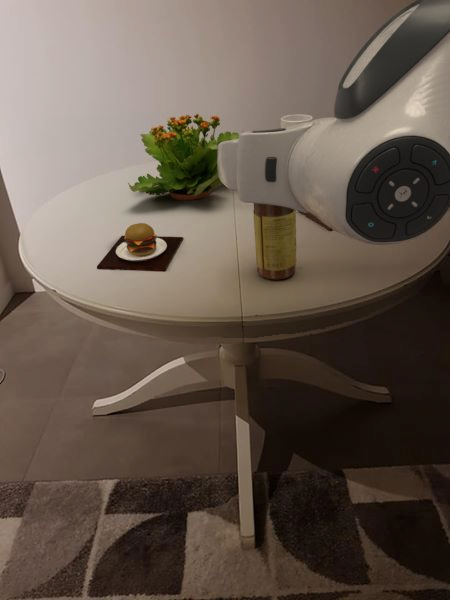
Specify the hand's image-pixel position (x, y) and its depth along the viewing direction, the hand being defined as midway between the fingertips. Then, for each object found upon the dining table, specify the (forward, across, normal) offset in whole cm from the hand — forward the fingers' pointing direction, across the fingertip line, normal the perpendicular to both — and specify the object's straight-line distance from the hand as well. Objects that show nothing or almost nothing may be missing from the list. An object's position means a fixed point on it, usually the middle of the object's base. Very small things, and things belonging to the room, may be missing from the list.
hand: (296, 155), depth 57 cm
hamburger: (+22, +22, +18) cm, 36 cm away
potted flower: (+51, +12, +12) cm, 53 cm away
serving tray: (+32, -18, +13) cm, 39 cm away
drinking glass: (+48, -12, +11) cm, 50 cm away
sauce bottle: (+11, 0, +19) cm, 22 cm away
